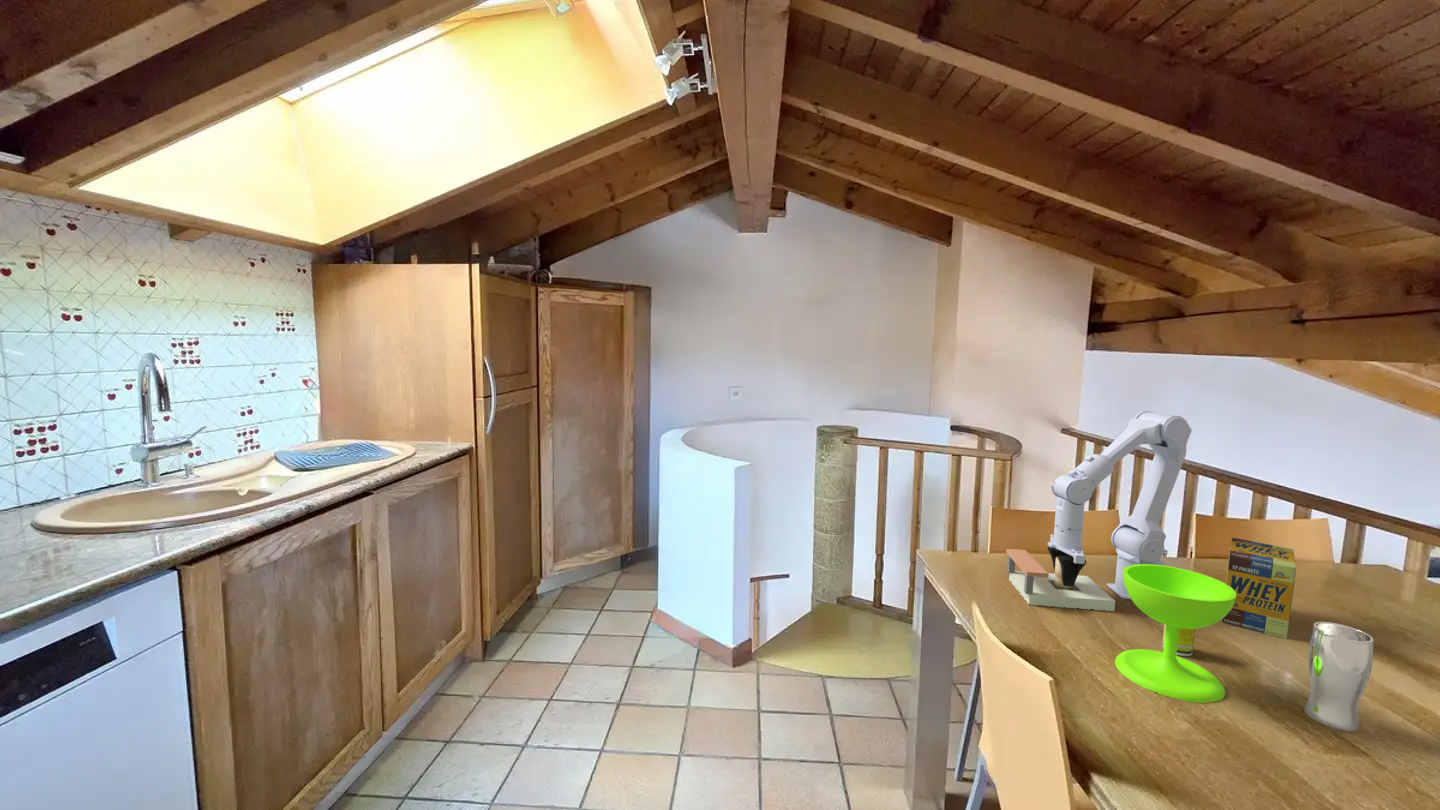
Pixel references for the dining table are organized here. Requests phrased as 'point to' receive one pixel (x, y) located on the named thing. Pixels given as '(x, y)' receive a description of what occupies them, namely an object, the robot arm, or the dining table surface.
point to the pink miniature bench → (1025, 567)
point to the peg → (1059, 577)
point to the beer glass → (1337, 674)
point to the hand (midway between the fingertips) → (1064, 581)
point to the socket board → (1064, 593)
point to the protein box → (1261, 586)
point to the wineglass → (1174, 629)
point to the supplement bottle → (1183, 641)
